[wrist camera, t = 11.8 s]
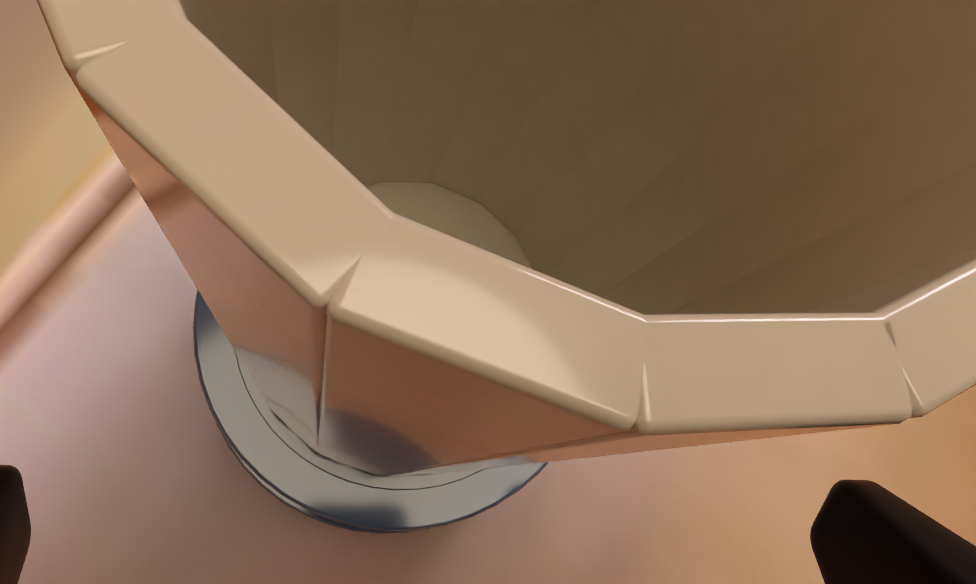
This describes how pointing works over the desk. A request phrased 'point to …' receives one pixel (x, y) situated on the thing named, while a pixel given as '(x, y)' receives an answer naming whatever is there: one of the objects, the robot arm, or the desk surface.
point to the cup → (557, 211)
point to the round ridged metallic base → (322, 480)
